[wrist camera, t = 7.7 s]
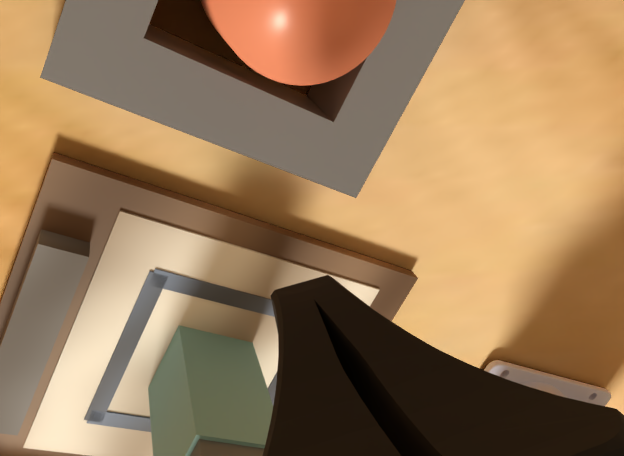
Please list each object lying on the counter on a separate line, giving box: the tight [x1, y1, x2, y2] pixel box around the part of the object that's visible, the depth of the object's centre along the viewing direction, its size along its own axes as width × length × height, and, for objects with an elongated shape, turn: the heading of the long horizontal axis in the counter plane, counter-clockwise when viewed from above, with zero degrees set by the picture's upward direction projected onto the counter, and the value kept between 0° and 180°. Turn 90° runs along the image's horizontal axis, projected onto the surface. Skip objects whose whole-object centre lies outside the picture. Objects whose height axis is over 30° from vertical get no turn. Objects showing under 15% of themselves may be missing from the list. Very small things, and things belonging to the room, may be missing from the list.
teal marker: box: [148, 325, 273, 456], centre depth 21 cm, size 3×3×7 cm
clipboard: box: [0, 153, 418, 456], centre depth 24 cm, size 15×13×2 cm
